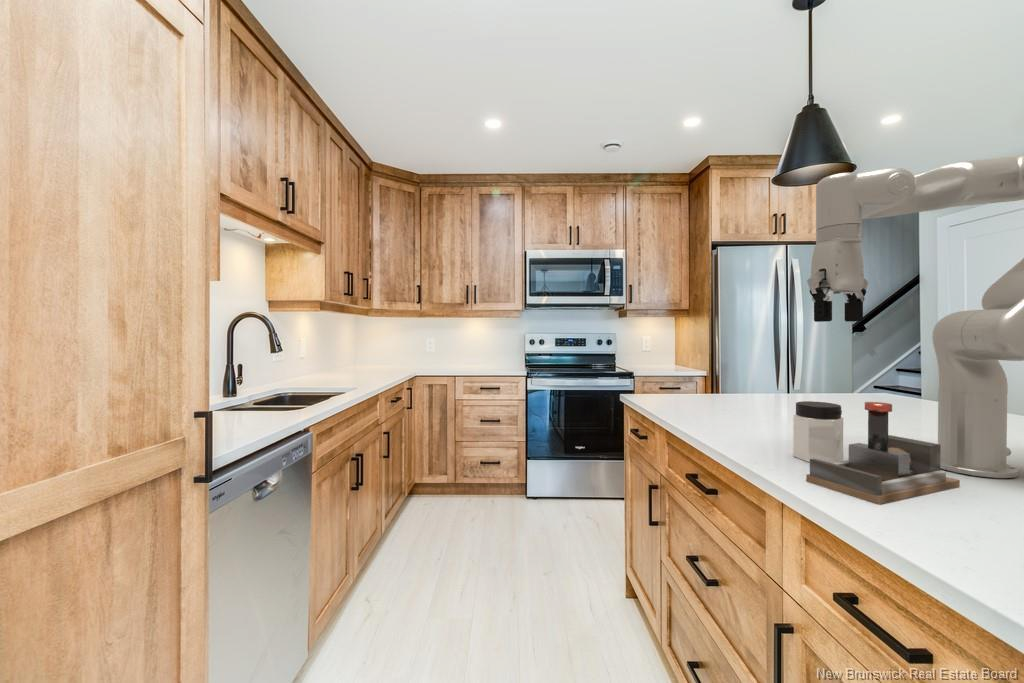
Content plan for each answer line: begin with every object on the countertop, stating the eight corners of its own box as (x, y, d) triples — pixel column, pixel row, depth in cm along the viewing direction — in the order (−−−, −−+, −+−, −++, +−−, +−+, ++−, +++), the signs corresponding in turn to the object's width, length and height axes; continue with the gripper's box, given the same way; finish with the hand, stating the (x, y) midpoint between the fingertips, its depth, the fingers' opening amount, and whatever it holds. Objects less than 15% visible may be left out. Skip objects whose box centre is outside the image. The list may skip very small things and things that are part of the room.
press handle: (860, 468, 84) (860, 399, 84) (910, 481, 76) (911, 406, 76) (847, 471, 82) (847, 400, 82) (896, 484, 75) (897, 407, 75)
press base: (882, 467, 89) (882, 432, 89) (959, 486, 78) (960, 446, 78) (806, 481, 82) (806, 442, 81) (879, 504, 70) (879, 459, 70)
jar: (830, 467, 90) (830, 408, 89) (787, 458, 96) (787, 403, 96) (848, 460, 95) (849, 404, 94) (806, 451, 101) (806, 399, 101)
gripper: (845, 243, 96) (845, 321, 97) (791, 238, 90) (791, 322, 90) (885, 236, 89) (885, 320, 90) (830, 230, 83) (830, 321, 83)
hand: (838, 321), depth 90 cm, fingers open, 9 cm apart
